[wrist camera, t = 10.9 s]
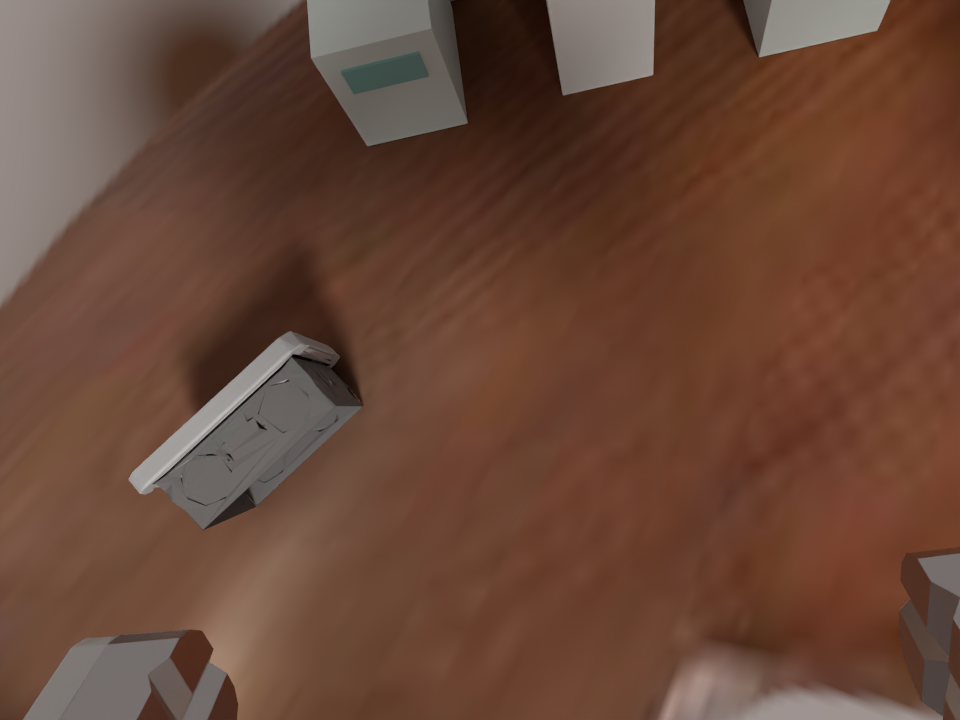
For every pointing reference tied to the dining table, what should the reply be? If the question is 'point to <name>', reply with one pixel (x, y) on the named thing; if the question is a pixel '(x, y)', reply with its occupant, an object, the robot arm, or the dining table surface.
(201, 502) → the electrical switch
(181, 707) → the robot arm
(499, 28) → the dining table surface
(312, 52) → the module left
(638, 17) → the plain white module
